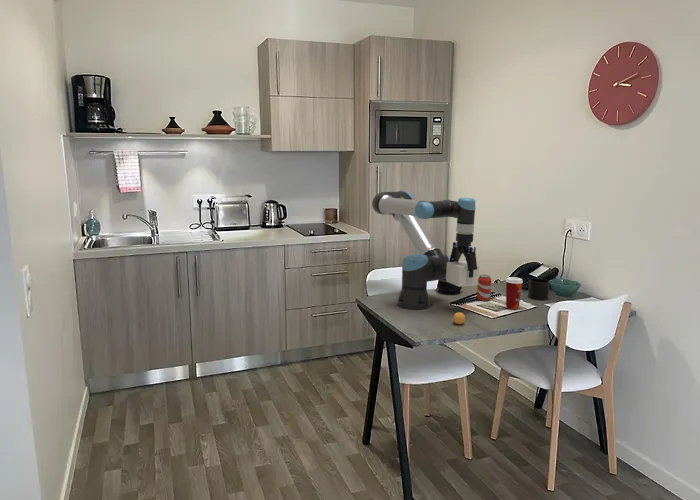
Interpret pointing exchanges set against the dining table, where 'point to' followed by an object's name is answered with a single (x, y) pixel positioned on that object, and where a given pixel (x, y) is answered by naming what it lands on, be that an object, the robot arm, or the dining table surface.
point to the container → (448, 288)
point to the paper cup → (513, 292)
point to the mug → (538, 289)
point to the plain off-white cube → (460, 273)
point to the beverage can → (484, 287)
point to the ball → (459, 318)
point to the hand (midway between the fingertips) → (461, 281)
